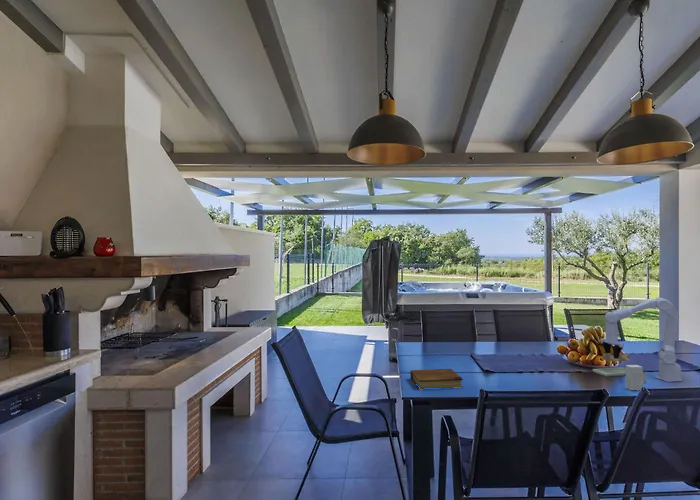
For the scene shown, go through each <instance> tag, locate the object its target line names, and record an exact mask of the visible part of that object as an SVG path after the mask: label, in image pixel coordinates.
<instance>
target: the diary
mask: <svg viewBox="0 0 700 500" xmlns="http://www.w3.org/2000/svg"><path fill="white" fill-rule="evenodd" d="M409 373H410V380H411V382H412V383H413V382H414V383H415V384H417V385H418V386H419V387H420V389H424V388H453V387H462V388H464V387H463V386H462V381H463V380H464V379H463V377H462V376H461V375H459V374H458V373H457V372H455V371H454V370H453V369H452V368H435V369H412V370H411V369H410V372H409ZM414 383H413V384H414ZM415 384H414V385H415ZM417 385H415V387H416V386H417Z"/></svg>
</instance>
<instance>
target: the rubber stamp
mask: <svg viewBox="0 0 700 500" xmlns="http://www.w3.org/2000/svg"><path fill="white" fill-rule="evenodd" d="M646 383H647V381H646V372H645V371H643V384H646Z"/></svg>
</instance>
